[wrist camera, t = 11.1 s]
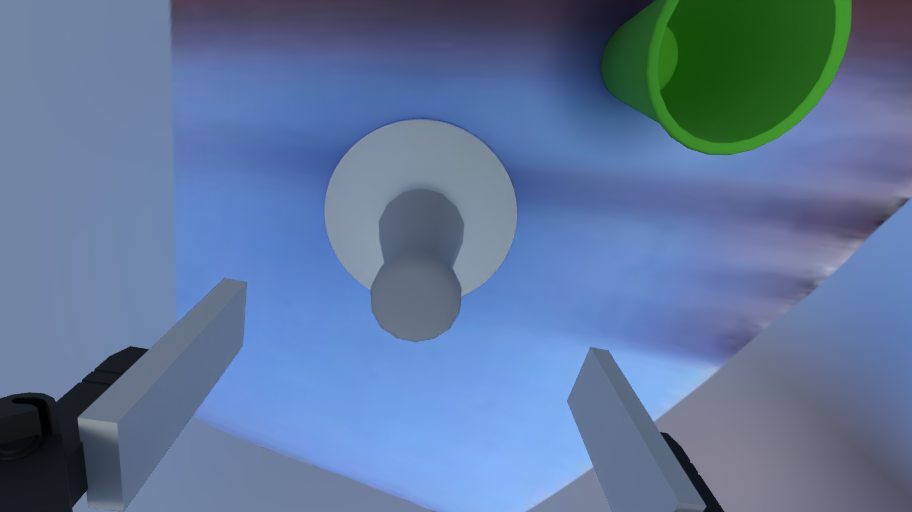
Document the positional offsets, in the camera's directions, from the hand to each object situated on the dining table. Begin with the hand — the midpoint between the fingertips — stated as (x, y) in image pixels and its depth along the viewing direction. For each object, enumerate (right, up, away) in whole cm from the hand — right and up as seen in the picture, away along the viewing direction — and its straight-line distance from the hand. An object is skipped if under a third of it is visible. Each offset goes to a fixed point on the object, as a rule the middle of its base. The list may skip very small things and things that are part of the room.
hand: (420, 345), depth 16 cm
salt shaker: (-1, +6, +15) cm, 16 cm away
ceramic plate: (-1, +7, +16) cm, 17 cm away
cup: (+14, +17, +13) cm, 25 cm away
